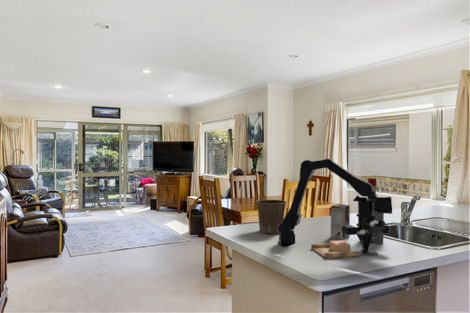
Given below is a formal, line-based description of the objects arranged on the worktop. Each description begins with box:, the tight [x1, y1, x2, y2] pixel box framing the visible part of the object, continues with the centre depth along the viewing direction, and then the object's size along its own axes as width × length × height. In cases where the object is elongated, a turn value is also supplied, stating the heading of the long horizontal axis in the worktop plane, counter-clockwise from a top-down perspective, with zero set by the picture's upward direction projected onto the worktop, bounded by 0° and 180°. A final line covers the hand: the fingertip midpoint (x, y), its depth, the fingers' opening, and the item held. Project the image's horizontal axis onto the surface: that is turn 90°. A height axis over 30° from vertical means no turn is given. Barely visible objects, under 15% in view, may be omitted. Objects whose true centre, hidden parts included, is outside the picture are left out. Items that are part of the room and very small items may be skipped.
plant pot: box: [255, 199, 287, 235], centre depth 185 cm, size 16×16×16 cm
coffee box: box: [330, 203, 351, 240], centre depth 173 cm, size 9×6×16 cm
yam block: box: [329, 239, 351, 252], centre depth 144 cm, size 6×6×4 cm
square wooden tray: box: [310, 242, 360, 260], centre depth 143 cm, size 14×14×3 cm
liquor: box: [366, 177, 385, 245], centre depth 165 cm, size 9×9×30 cm
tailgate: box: [350, 245, 379, 257], centre depth 145 cm, size 10×11×1 cm
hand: (365, 249), depth 146 cm, fingers closed, pressing on tailgate
